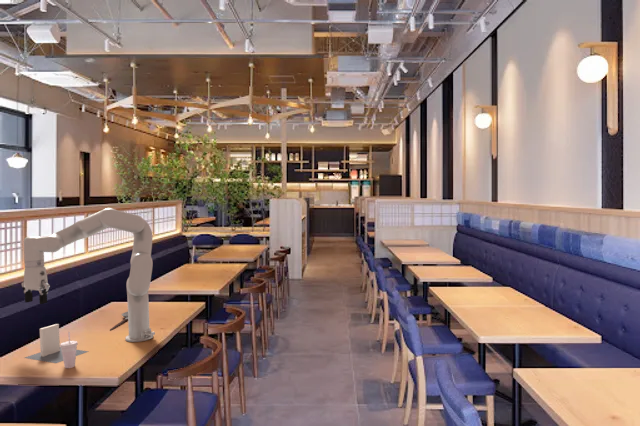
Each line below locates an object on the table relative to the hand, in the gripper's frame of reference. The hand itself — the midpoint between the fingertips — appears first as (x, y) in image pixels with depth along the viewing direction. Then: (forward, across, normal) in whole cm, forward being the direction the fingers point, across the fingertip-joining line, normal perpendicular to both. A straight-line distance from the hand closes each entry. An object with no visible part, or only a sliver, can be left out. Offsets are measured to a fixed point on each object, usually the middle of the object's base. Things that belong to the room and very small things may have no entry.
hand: (36, 302), depth 215 cm
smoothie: (+23, -30, +8) cm, 39 cm away
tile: (+22, -8, 0) cm, 23 cm away
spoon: (+23, +4, -53) cm, 58 cm away
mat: (+22, -12, 0) cm, 25 cm away
